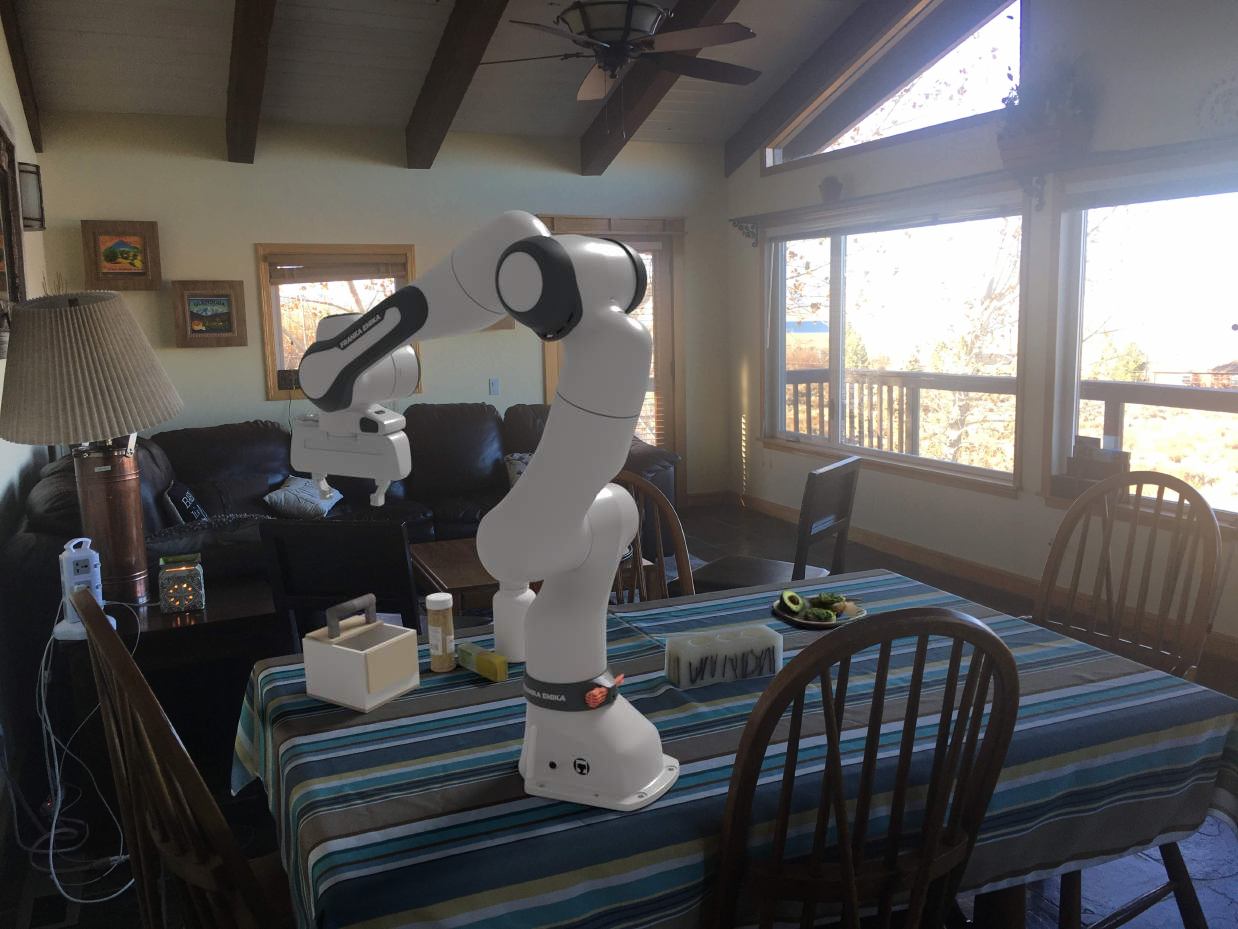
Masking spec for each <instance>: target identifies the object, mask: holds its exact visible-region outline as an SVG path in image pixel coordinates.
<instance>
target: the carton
mask: <svg viewBox="0 0 1238 929" xmlns="http://www.w3.org/2000/svg"><path fill="white" fill-rule="evenodd" d="M417 638H418V637H417V629H412V628H408V627H404V626H398V625H396V624H390V623H387V622H386V623H384V624H382V625H380V626H377V627H375V628H372V629H370V630H367V631H365V632H362V633H360V634H357V635H355V636H352V637H350V638H348V639H345V640H343V641H340V642H338V643H335V644H330V643H326V642H322V641H318V640H314V639H310V638H306V637H304V638H302V639H301V640H302V650H303V652H302V653H303V664H304V672H305V673H304V674H305V685H306V686H305V687H306V695H307V697H310V698H313V699H318V700H320V701H324V702H327V703H330V704H332V705H333V704H334V705H337V706H340V707H344V708H347V709H349V710H350V709H351V710H354V711H358V712H360V713H364V714H368V713H369V712H372V711H373V710H376V709H378V708H380V707H382V706H384V705H386V704H388V703H389V702H392V701H393V700H396V699H397V698H400V697H401V696H403V695H405V694H408V693H410V692H412V691H413V690H415V689H419V687H420V686H421V684H420V683H421V682H420V680H421V679H420V667H419V666H420V665H419V652H418V650H419V649H418V641H417V640H418V639H417Z"/></svg>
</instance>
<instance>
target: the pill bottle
mask: <svg viewBox="0 0 1238 929" xmlns="http://www.w3.org/2000/svg"><path fill="white" fill-rule="evenodd" d="M536 596H537V594H536V593H535V592H534V591H533V589H531V588H530V582H525V583H503V582H500V581H499V590H498V591H497V592H496V593H495V594H494V595H493V597H492V612H493V637H494V638H493V640H494V653H496V654H498V655H500V656H503V657H505V658H507V663H510V664H511V663H512V664H514V663H524V662H525V663H526V656H525V634H524V618H525V614H526V611H527V609H528V607H529V605H530V604H531V602H532V601H533V600H534V599H535V597H536Z"/></svg>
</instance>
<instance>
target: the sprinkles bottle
mask: <svg viewBox="0 0 1238 929" xmlns="http://www.w3.org/2000/svg"><path fill="white" fill-rule="evenodd" d="M425 605H426V606H425V607H426V611H427V628H428V630H427V631H428V643H429V652H430V670H432V671H433V672H436V673H445V672H446V673H447V672H451V671H453V670H454V669H455V668H456V667H457V663H456V654H455V653H456V652H455V648H456V647H455V635H454V623H453V610H452V608H453V605H454V604H453V596H452V594H451V593H447V592H437V593H436V592H435V593H431V594H429V595H427V596H426V597H425Z"/></svg>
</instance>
